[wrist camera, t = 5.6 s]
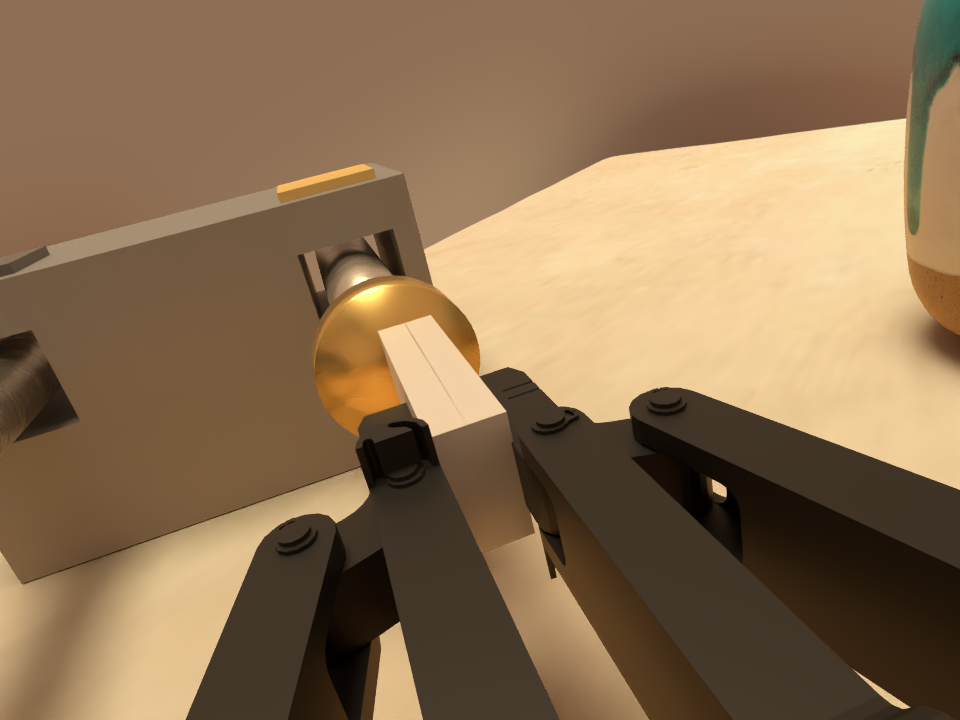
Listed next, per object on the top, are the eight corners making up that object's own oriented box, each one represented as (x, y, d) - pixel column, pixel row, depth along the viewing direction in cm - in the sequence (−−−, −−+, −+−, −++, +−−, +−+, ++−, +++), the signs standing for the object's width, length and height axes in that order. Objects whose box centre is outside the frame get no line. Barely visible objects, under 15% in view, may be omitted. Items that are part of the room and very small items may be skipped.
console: (21, 583, 27) (-158, 308, 22) (87, 469, 36) (-29, 257, 31) (470, 428, 30) (400, 163, 25) (426, 360, 39) (369, 155, 34)
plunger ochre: (344, 464, 18) (290, 315, 16) (312, 296, 36) (285, 218, 35) (494, 412, 19) (459, 265, 17) (389, 274, 37) (367, 196, 36)
